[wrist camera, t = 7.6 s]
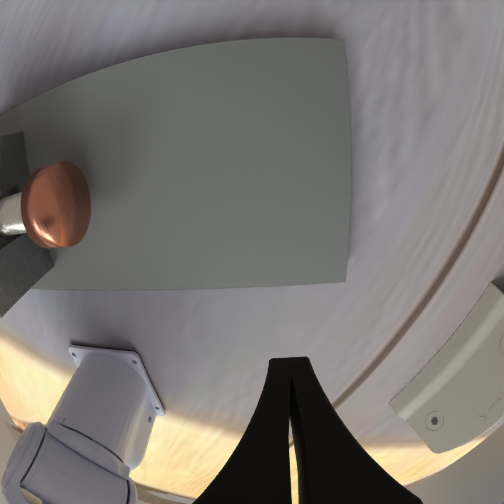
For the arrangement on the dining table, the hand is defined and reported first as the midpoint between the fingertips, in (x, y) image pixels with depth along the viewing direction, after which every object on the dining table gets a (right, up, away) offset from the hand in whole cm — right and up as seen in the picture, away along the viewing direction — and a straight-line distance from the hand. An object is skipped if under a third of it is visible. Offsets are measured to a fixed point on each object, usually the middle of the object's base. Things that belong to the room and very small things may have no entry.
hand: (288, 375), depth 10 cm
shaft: (-18, +8, +5) cm, 20 cm away
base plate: (-9, +9, +7) cm, 14 cm away
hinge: (+20, -6, +13) cm, 24 cm away
